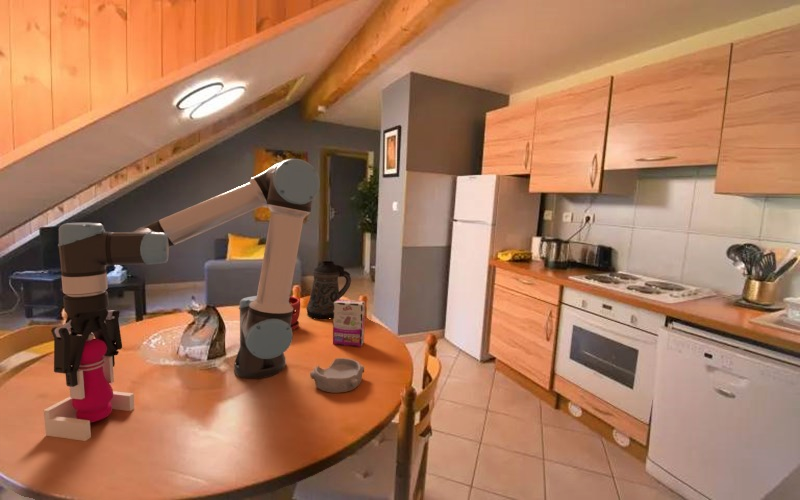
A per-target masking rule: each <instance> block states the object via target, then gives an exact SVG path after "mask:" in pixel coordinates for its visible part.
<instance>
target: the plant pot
mask: <svg viewBox="0 0 800 500" xmlns="http://www.w3.org/2000/svg"><path fill="white" fill-rule="evenodd" d="M289 303H290V304H291V306H292V307H293V313H292V319H291V325H290V327H291V328H292V331H293V330H295V329H296V328H298V326H300V325H299V324H300V323H299V321H298V320H299V317H300V315H301V313H300V312H301V300H300V299H299V298H298V297H296V296H290V298H289Z"/></svg>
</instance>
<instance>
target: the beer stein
mask: <svg viewBox="0 0 800 500" xmlns="http://www.w3.org/2000/svg"><path fill="white" fill-rule="evenodd" d="M312 276H313V279H312V285H311V291H310V296H309V300H308V302H307V305H306V309H305V310H306V314H307V316H308V317H309V319H313V318H315V319H314V320H320V319H327V320H330V319H329V318H333V304H334V302H335V301H336V300H341V298H342V297H343V296H344V295H345V294H346V292H348V290H349V288H350V287H351V283H352V277H351V274H350V273H349V272H347V270H345V268H344V267H343V266H342V265H341V264H335V263H334V261H332V260H331V261H329V260H325V261H324V260H323V261H322V262H321V264H319V265H318V266H317V267H315V268H314V269H313V270H312ZM341 277H343V278H345V283H344V285H343V287H341V289H340V288H339V278H341Z"/></svg>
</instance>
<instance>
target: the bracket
mask: <svg viewBox="0 0 800 500" xmlns="http://www.w3.org/2000/svg"><path fill="white" fill-rule="evenodd" d="M134 396H135V395H134V393H133V392H123V391H115V390H113V398H112V399H111V401H110V403H111V406H112V410H116V411H117V410H118V411H124V412H131V411H133V410H134V409H135V397H134ZM72 399H73V398H70V396H68V397H66V398H65V399H64V398H63V399H62V400H59V402H56V403H54V404H53V405H50V406H48V407H47V408H45V409H43V418H44V419H43V420H44V430H45V436H46V437H53V438H61V439H68V440H75V441H83V442H86V441H88V440H90V439H91V438H92V433H91V423H90V421H89V420H82V419H77V418H76V412H77V411H78V410H76V409H75V408H74V407H73V405H72Z"/></svg>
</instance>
